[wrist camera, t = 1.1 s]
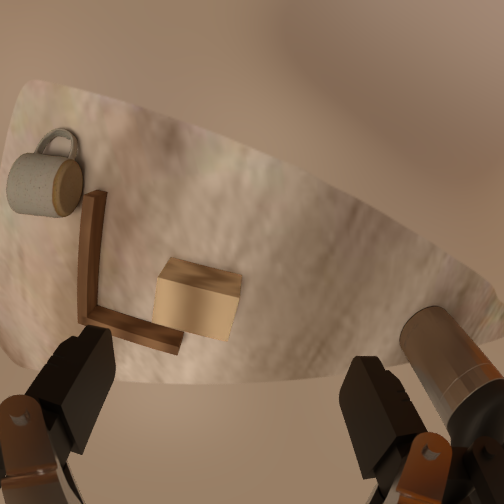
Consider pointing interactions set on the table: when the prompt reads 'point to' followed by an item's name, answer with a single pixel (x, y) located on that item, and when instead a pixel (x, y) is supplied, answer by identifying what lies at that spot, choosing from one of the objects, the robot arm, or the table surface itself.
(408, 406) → the robot arm
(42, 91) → the table surface
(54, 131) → the ceramic mug
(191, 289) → the oak block
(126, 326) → the corner fence
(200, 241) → the table surface
